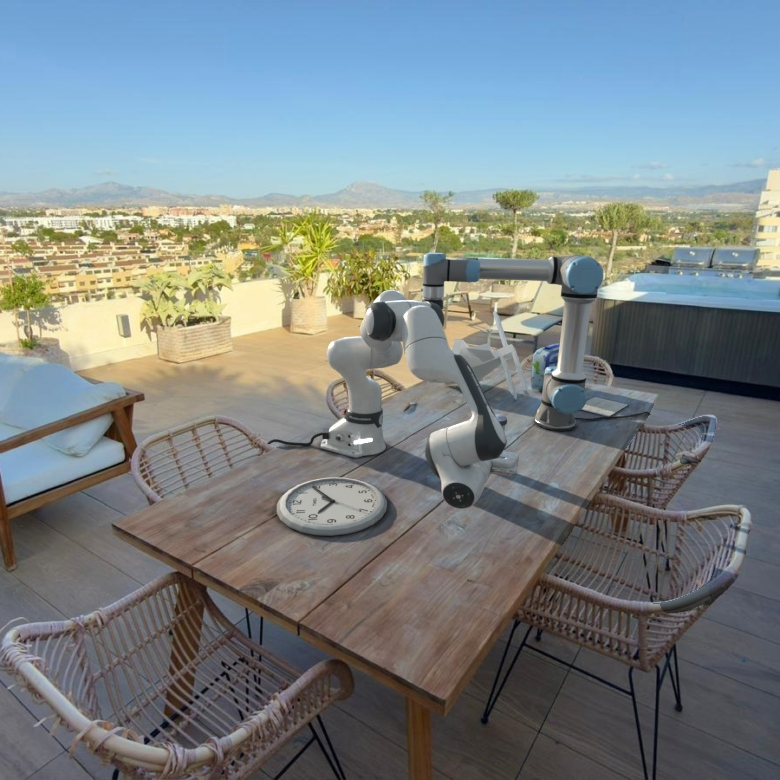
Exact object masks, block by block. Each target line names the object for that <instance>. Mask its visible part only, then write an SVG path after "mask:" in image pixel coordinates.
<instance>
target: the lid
mask: <svg viewBox="0 0 780 780" xmlns="http://www.w3.org/2000/svg"><path fill="white" fill-rule="evenodd" d="M494 414H495V416H496V418H497V420H498V421H499V423H500V424H501V426H504V425H505V426H507V424H508V417H507V416H506V415H503V414H500V413H499V414H498V413H494Z"/></svg>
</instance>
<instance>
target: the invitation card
mask: <svg viewBox="0 0 780 780" xmlns="http://www.w3.org/2000/svg"><path fill="white" fill-rule="evenodd" d="M628 406H629V404H627V403H623V402H618V401H614V400H609V399H605V398H601V397H596V396H593V397H592V398H590V399H587V401H586V404H585V406H584V407H583V408H582V409H581V410H580V411H584V412H587V413H593V414H596V415H600V416H603V417H608V416H614V414H616V413H617V412H619V411H621V410H623V409H624V408H626V407H628Z"/></svg>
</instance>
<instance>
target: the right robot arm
mask: <svg viewBox="0 0 780 780" xmlns="http://www.w3.org/2000/svg"><path fill="white" fill-rule="evenodd" d="M422 264H423V265H422V288H420V292H421V293H422V294H421V296H422V299H421V302H424V301H428V302H432V303H435V304H437V305H439V306H440V308H441V309H442V310H444V299H443V298H444V297H445V282H447V283H449V282H452V283H453V282H457V283H468V284H470V283H477V282H479V281H480V280H495V281H497V280H499V281H500V280H501V281H526V282H527V281H531V282H546V283H547V284H548V285H557V286H561V289H560V298H561V299H562V300H563V303H564V305H563V313H562V322H561V330H560V339H559V344H560V346H559V355H558V364H557V366H553V367H547V368H546V369H545V373H544V382H543V390H542V394H541V402H540V405H539V407H538V408H537V411H536V413H535V416H534V424H535V425H536V426H537V427H539V428H542V429H544V430H549V431H556V432H567V431H572V430H574V429H575V428H576V420H577V421H578V420H579V421H598V420H602V419H603V420H605V419H625V418H631V417H638V416H641V415H645V414H648V416H651V415H652V414H651V413H650V412H649V411H643V412H639V413H633V414H627V415H617V416H616V415H611V416H599V417H591V418H589V417H588V418H587V417H576V416H575V414H576V413H579V412H580V411H582V410H581V409H582V408H583V407H584V406H585V404H586V401H588V397H587V392H586V389H585V388H586V383H587V382H586V381H587V375H586V374H585V373H584V371H583V369H584V361H585V355H586V347H587V339H588V338H587V337H588V330H589V324H590V318H591V317H590V316H591V308H592V303H593V302H594V301H596V300H597V298H598V294H599V293H598V291H599V288H601V285H602V284H603V281H604V269H603V267H602V265H601V264H600V262H599V261H597V260H596V259H595V258H594V257H592V256H587V255H581V254H574V255H573V254H572V255H565V256H551V257H549V258H548V259H545V258H544V259H543V258H542V259H541V258H540V259H539V258H501V257H500V258H497V257H496V258H495V257H494V258H492V257H466V256H460V257H457V258H455V259H451V258H449V259H448V258H447V257H446V253H444V252H427V253H425V254H424V255H423V263H422Z"/></svg>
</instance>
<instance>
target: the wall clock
mask: <svg viewBox="0 0 780 780" xmlns="http://www.w3.org/2000/svg"><path fill="white" fill-rule="evenodd" d="M387 509H388V500H387V498H386V496H385V494H384V493H383V492H382V491H381V490H380V489H379V488H377V487H376V486H374V485H372V484H371V483H369V482H365V481H362V480H359V479H355V478H349V477H338V476H337V477H335V476H333V477H332V476H331V477H322V478H317V479H312V480H307V481H305V482H302V483H299V484H297V485H295V486H293V487H292V488H290V489H288V490H287V491H286V492H285V493H284V494H283V495H281V496H280V498H279V499H278V502H277V503H276V515H277V517H278V518H279V520H280V521H281V522H282V523H283V524H285V525H286V526H287V527H288V528H290V529H293V530H295V531H297V532H299V533H303V534H308V535H312V536H327V537H328V536H329V537H331V536H332V537H333V536H342V535H350V534H352V533H356V532H361V531H363V530H366V529H368V528H369V527H372V526H373V525H375V524H376V523H378V522H379V521H380V520H381V519H382V518H383V517H384V516H385V514H386V512H387Z"/></svg>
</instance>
